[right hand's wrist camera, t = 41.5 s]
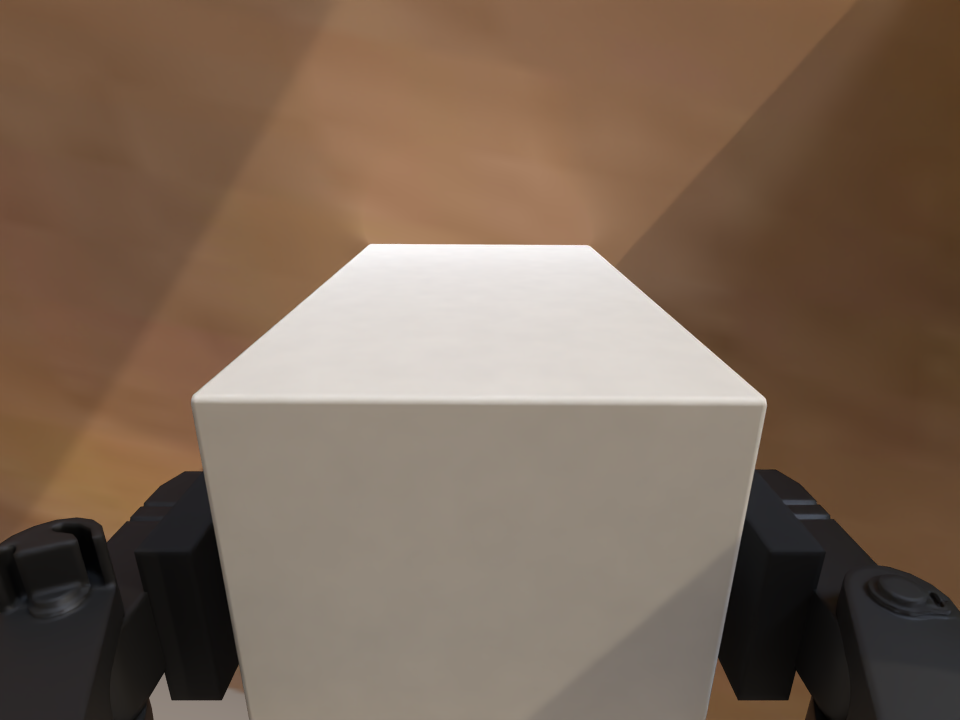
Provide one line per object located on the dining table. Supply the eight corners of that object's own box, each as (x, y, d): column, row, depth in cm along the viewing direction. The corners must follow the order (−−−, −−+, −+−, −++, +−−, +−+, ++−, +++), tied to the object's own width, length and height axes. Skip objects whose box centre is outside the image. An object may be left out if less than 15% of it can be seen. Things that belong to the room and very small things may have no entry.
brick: (381, 458, 19) (265, 821, 9) (368, 243, 17) (186, 396, 6) (575, 459, 19) (687, 823, 9) (590, 244, 17) (771, 399, 6)
